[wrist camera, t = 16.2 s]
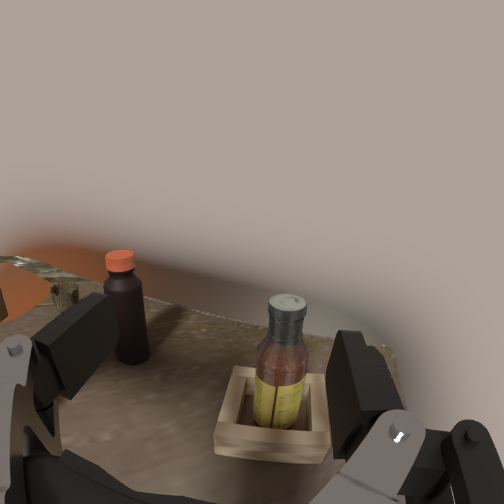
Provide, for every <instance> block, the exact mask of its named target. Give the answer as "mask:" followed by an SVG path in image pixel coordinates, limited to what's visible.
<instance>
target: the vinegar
mask: <svg viewBox="0 0 504 504" xmlns="http://www.w3.org/2000/svg"><path fill="white" fill-rule="evenodd" d="M105 257H106V267H107V271H108V273H109V277H108V278H107V279H106V281H105V282H104V294H105V295H109V296H112V298H113V299H114V302H115V309H116V315H117V321H118V327H119V340H118V343H117V345H116V347H115V352H116V356H117V357H118V359H119V360H120V361H121V362H123V363H126V364H138V363H142V362H143V361H145V360H146V359H147V358H148V357H149V355H150V349H149V342H148V335H147V328H146V320H145V311H144V302H143V292H142V282H141V280H140V279H139V278H138V277H137V276H136V275H135V274H134V273H133V271H134V270H135V259H134V253H133V252H132V251H129V250H116V251H112V252H109V253H107V254H106V256H105Z"/></svg>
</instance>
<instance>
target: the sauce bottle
mask: <svg viewBox="0 0 504 504" xmlns="http://www.w3.org/2000/svg"><path fill="white" fill-rule="evenodd" d="M306 308H307V303H306V301H305V300H304V299H303V298H301V297H299V296H296V295H293V294H279V295H276V296H273V297H271V298H270V300H269V305H268V313H269V328H268V334H267V336H266V337H265V338H264V339H263V340H262V342H261V343H260V344H259V346H258V348H257V358H256V360H257V361H256V368H255V387H254V405H253V417H254V421H255V424H256V427H262V428H271V429H282V430H291V429H292V428H293V426H294V425H295V422H296V420H297V417H298V413H299V408H300V403H301V399H302V393H303V388H304V383H305V378H306V373H307V361H308V354H307V352H306V349H305V346H304V343H303V340H302V327H303V326H302V325H303V320H304V317H305V315H306Z"/></svg>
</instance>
